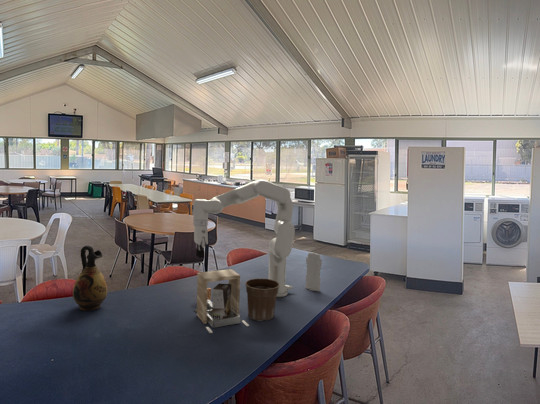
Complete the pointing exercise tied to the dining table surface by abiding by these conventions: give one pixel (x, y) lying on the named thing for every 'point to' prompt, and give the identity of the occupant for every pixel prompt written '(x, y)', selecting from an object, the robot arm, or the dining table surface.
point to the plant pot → (261, 298)
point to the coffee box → (221, 302)
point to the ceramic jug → (90, 282)
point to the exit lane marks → (212, 332)
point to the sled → (220, 322)
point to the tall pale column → (313, 271)
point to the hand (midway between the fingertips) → (200, 256)
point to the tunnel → (211, 277)
